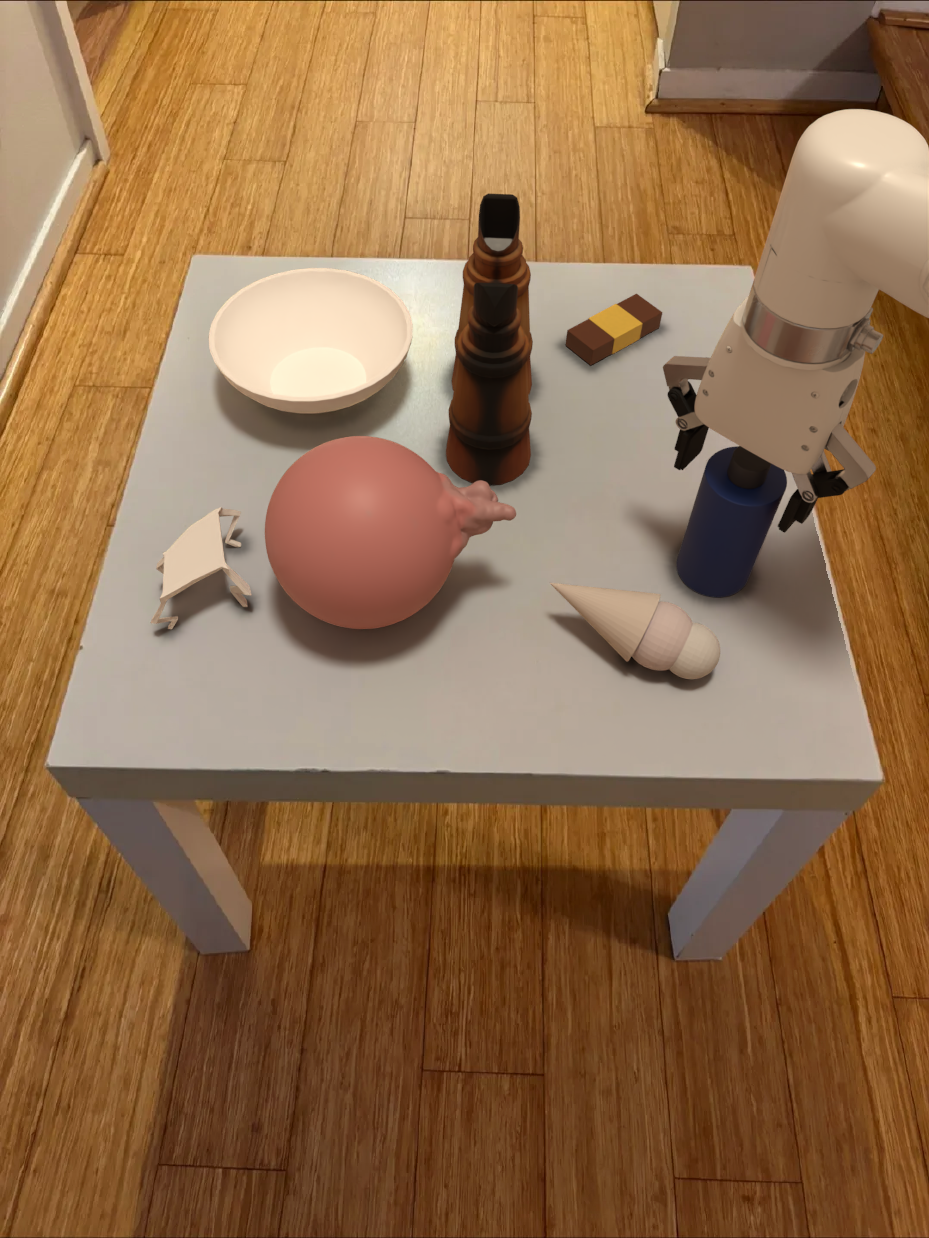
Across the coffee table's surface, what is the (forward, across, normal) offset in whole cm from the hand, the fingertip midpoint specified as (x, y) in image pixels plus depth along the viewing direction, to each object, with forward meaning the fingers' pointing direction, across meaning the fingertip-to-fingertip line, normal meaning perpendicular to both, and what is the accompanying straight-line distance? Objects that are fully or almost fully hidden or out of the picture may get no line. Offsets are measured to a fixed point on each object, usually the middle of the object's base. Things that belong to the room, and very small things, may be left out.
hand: (737, 489), depth 79 cm
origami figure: (+11, +32, +30) cm, 45 cm away
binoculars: (+11, +27, -2) cm, 29 cm away
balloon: (+11, +19, +20) cm, 30 cm away
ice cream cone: (+10, +1, +12) cm, 16 cm away
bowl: (+11, +43, +6) cm, 44 cm away
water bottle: (+10, 0, 0) cm, 10 cm away
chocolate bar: (+10, +25, -20) cm, 33 cm away
